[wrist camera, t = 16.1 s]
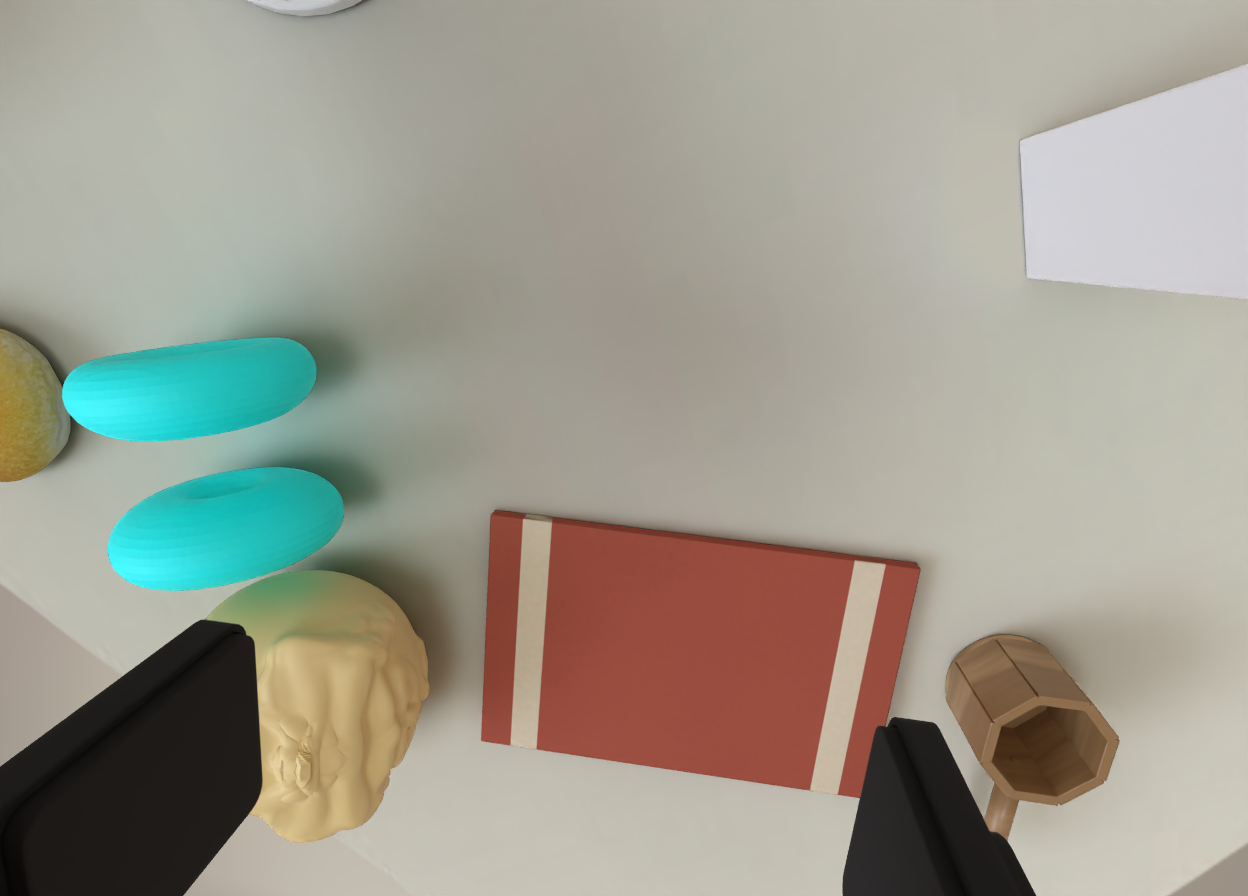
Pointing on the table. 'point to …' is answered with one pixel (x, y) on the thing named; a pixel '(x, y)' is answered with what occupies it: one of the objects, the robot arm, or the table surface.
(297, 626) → the gathered cream pouch
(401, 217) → the table surface
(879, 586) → the towel
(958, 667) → the scoop
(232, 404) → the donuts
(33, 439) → the bread roll
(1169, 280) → the milk
